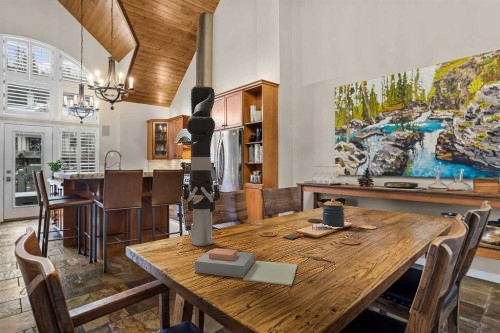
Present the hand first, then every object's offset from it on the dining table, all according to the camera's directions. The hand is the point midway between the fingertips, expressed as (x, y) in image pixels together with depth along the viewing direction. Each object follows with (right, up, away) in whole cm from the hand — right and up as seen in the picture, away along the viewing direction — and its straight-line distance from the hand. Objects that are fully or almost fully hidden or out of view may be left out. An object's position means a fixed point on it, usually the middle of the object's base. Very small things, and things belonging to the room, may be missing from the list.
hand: (201, 211), depth 107 cm
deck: (+9, -20, -3) cm, 23 cm away
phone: (+42, -21, +42) cm, 63 cm away
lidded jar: (+69, -20, +63) cm, 96 cm away
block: (+8, -16, -3) cm, 19 cm away
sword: (+42, -21, +10) cm, 48 cm away
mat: (+26, -20, -8) cm, 34 cm away
